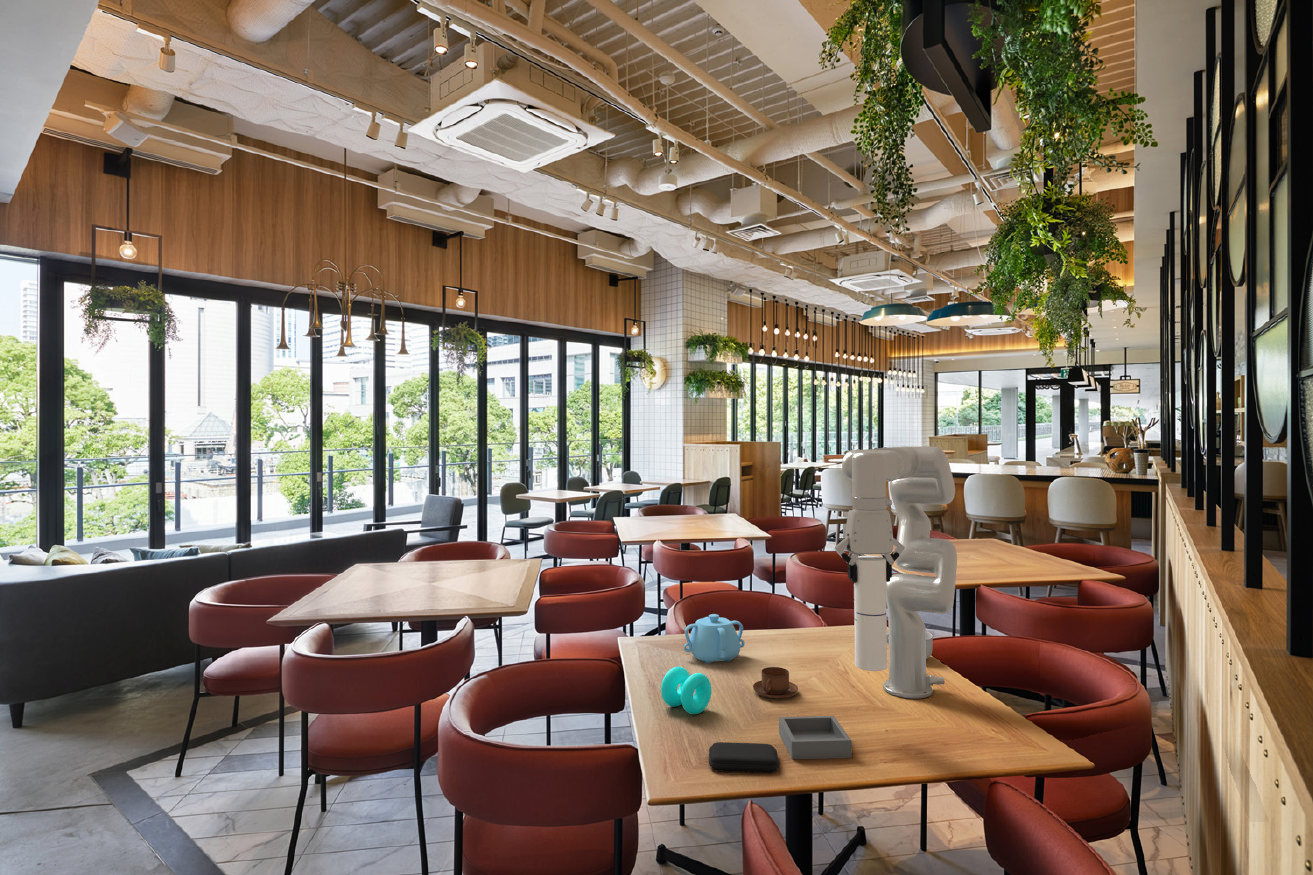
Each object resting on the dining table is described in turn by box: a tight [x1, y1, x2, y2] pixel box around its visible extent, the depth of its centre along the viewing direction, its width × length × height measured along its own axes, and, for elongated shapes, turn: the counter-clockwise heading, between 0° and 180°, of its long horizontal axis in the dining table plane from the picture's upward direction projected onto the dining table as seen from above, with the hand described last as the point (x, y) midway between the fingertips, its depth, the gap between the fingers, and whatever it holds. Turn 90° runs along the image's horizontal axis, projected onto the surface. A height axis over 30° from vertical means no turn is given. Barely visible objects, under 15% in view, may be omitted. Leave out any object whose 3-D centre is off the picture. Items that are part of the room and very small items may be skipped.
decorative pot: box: [683, 613, 745, 664], centre depth 216 cm, size 16×16×14 cm
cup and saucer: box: [752, 666, 799, 700], centre depth 186 cm, size 12×12×6 cm
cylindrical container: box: [853, 555, 888, 672], centre depth 160 cm, size 7×7×25 cm
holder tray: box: [778, 715, 853, 760], centre depth 155 cm, size 13×13×4 cm
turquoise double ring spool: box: [660, 666, 712, 715], centre depth 176 cm, size 10×10×10 cm
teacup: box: [887, 630, 934, 660], centre depth 214 cm, size 14×11×8 cm
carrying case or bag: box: [708, 741, 780, 774], centre depth 148 cm, size 11×3×15 cm
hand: (869, 580), depth 160 cm, fingers closed on cylindrical container, 7 cm apart
